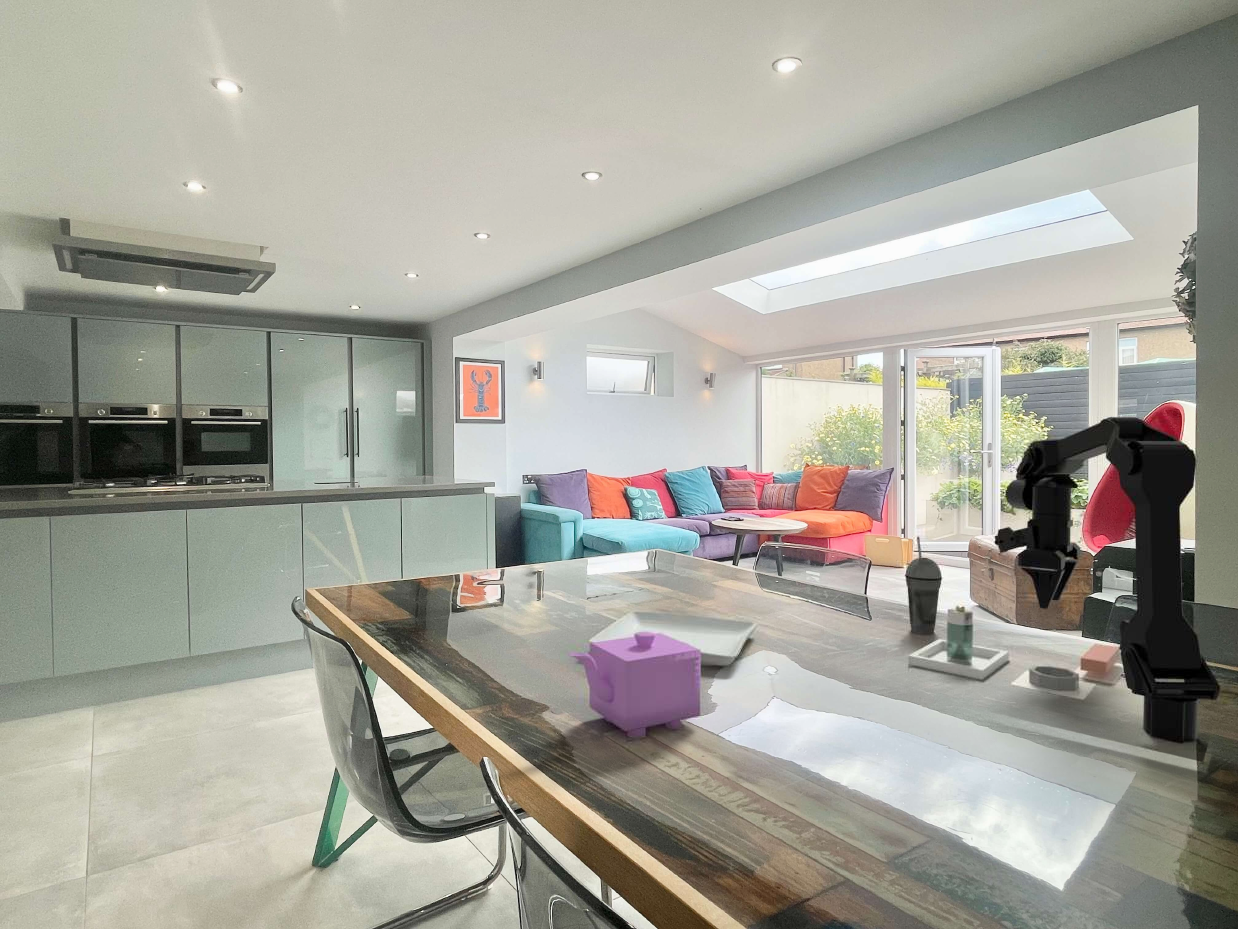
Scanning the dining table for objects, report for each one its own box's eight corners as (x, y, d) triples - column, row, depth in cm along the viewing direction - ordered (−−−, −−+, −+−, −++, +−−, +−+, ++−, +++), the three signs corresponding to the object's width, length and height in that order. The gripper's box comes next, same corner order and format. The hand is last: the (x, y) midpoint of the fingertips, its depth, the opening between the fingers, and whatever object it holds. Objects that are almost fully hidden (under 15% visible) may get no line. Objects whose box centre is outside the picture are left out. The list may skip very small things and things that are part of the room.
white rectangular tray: (982, 685, 118) (982, 670, 118) (908, 669, 126) (908, 655, 126) (1008, 665, 129) (1008, 651, 129) (938, 652, 137) (939, 639, 137)
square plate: (736, 677, 123) (736, 654, 123) (585, 660, 131) (585, 639, 131) (758, 637, 148) (758, 618, 148) (631, 626, 157) (631, 608, 157)
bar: (1106, 674, 118) (1106, 662, 118) (1080, 669, 120) (1080, 657, 120) (1119, 659, 127) (1119, 647, 127) (1094, 654, 129) (1095, 643, 129)
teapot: (673, 701, 110) (674, 618, 110) (714, 723, 101) (715, 634, 101) (553, 725, 100) (553, 635, 100) (586, 752, 91) (587, 653, 91)
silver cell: (967, 667, 125) (968, 610, 124) (943, 662, 127) (944, 606, 127) (975, 662, 128) (976, 606, 127) (951, 657, 130) (952, 603, 130)
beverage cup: (945, 637, 148) (946, 539, 148) (907, 635, 150) (909, 538, 149) (936, 628, 155) (938, 535, 155) (900, 626, 157) (902, 534, 156)
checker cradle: (1099, 709, 108) (1099, 689, 107) (1010, 690, 116) (1010, 672, 116) (1128, 670, 127) (1128, 653, 127) (1049, 656, 135) (1050, 640, 135)
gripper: (1012, 508, 137) (1011, 590, 137) (985, 514, 123) (983, 605, 123) (1081, 511, 130) (1080, 598, 130) (1061, 518, 116) (1059, 616, 116)
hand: (1049, 604), depth 125 cm, fingers open, 9 cm apart
